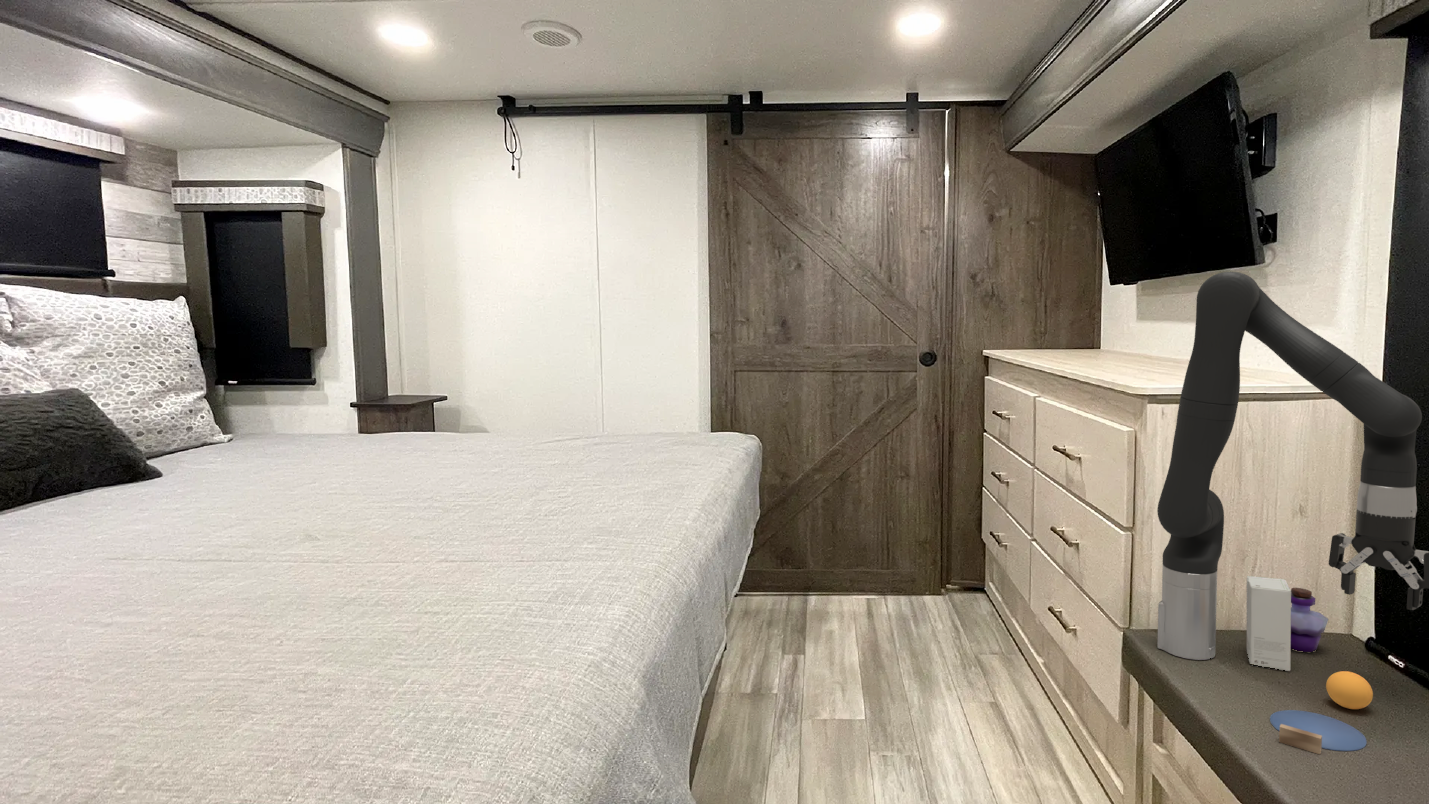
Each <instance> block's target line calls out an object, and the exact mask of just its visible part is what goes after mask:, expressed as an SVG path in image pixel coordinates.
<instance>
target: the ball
mask: <svg viewBox="0 0 1429 804" xmlns="http://www.w3.org/2000/svg"><path fill="white" fill-rule="evenodd" d="M1325 688H1326V691H1327V693H1328V696H1329V697H1330V698H1331V700H1332V701H1333V702H1335V704H1338V705H1339V706H1341V707H1343V708H1346V709H1348V710H1349V709H1350V710H1359V709H1360V710H1361V709H1364V708H1366V707H1367V706H1369V705H1370V704H1371V702H1372V701H1373V698H1374V691H1373V689H1372V686H1371V684H1370V683H1369V682H1368V681H1367V680H1366V679H1365V678H1364V677H1363V676H1361V675H1359V674H1357V673H1355V672H1352V671H1347V670H1344V671H1343V670H1342V671H1341V670H1340V671H1337V672H1334V673H1333V674H1331V675H1330V676H1328V678H1327V680H1326V684H1325Z"/></svg>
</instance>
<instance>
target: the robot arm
mask: <svg viewBox="0 0 1429 804" xmlns="http://www.w3.org/2000/svg"><path fill="white" fill-rule="evenodd" d="M1195 303H1196V313H1195V327H1194V328H1195V329H1194V341H1193V345H1192V346H1193V347H1192V350H1191V353H1190V358H1189V360H1188V364H1187V368H1186V372H1185V376H1184V380H1183V384H1182V389H1181V393H1180V398H1179V402H1178V403H1179V404H1178V410H1177V414H1176V423H1175V424H1176V425H1175V430H1174V436H1173V440H1172V441H1173V442H1172V448H1171V449H1172V450H1171V457H1170V463H1169V467H1168V470H1167V474H1166V476H1165V481H1164V484H1163V487H1162V490H1161V493H1160V497H1159V500H1158V504H1157V518H1158V521H1159V523H1160V525H1161V526H1162V528H1163V529H1164V530H1165V531H1166V532H1167V533H1168V534H1170V536H1169V541H1168V543H1167V545H1166V546H1165V548H1164V550H1163V552H1162V566H1161V567H1162V569H1161V570H1162V572H1161V578H1162V579H1161V581H1162V582H1161V600H1160V601H1159V602H1158V604H1157V605H1158V606H1157V649H1159V650H1163V651H1164V652H1166V653H1168V654H1170V655H1173V656H1175V657H1179V658H1183V659H1188V660H1194V661H1195V660H1196V661H1198V660H1199V661H1202V660H1204V661H1206V660H1210V658H1211V659H1213V658H1215V656H1216V646H1217V645H1216V644H1217V643H1216V635H1217V634H1216V633H1217V605H1218V604H1217V602H1218V599H1217V598H1218V565H1219V560H1220V557H1221V555H1222V553H1223V541H1224V525H1225V511H1224V506H1223V503H1222V501H1221V499H1220V498H1219V496H1218V494H1216V493H1215V492H1214V491H1213V490H1211V489H1210V487H1211V479H1212V475H1213V472H1214V469H1215V466H1216V464H1217V463H1218V460H1219V458H1220V456H1221V454H1222V453H1223V451H1224V448H1225V447H1226V444H1227V443H1228V441H1229V440H1230V439H1229V438H1230V436H1231V434H1232V431H1233V428H1234V425H1235V419H1236V418H1237V416H1236V415H1237V411H1238V406H1239V405H1238V404H1239V400H1240V399H1239V398H1240V391H1241V389H1240V388H1241V367H1240V366H1241V365H1240V364H1241V362H1240V361H1241V360H1240V358H1241V357H1240V356H1241V354H1240V353H1241V348H1242V343H1243V339H1244V334H1245V332H1246V333H1248V334H1250V335H1251V336H1253V337H1255V338H1256V339H1257V340H1258V341H1260V342H1261V343H1262V344H1263V345H1266V347H1267V348H1269V349H1270V350H1271V351H1272V352H1273V353H1274V354H1276V356H1278V357H1279V358H1280V359H1281V360H1282V361H1283V362H1284V363H1285V364H1286V365H1287V366H1289V367H1290V368H1291V369H1292V370H1293V371H1294V372H1295V373H1296V374H1298V375H1299V376H1301V378H1303V379H1305V380H1306V381H1307V382H1309V384H1311V385H1312V386H1314V387H1315V388H1316V389H1318V390H1320V391H1321V392H1322V393H1323V394H1324V395H1326V396H1328V397H1329V398H1331V399H1333V400H1334V401H1336V402H1337V403H1339V404H1340V405H1341V406H1343V408H1344V409H1346V410H1347V411H1348V412H1349V413H1350V414H1352V416H1353V417H1355V418H1357V420H1359V421H1360V422H1361V423H1362V424H1363V453H1362V457H1361V458H1362V459H1361V464H1360V481H1359V486H1358V489H1357V498H1356V511H1355V512H1356V514H1355V516H1356V517H1355V535H1354V536H1353V537H1351V536H1349V535H1346V534H1345V533H1343V532H1341V533H1338V534H1334V535H1332V536H1331V543H1330V551H1329V557H1328V565H1329V567H1332V568H1335V569H1337V570H1339V572H1341V575H1340V576H1341V578H1340V589H1341V591H1344V594H1345V595H1350V596H1351V595H1353V594H1354V593H1355V591H1356V589H1355V588H1356V574H1357V573H1356V572H1354V571H1355V570H1356V569H1358V568H1359V567H1361V566H1362V565H1363V564H1367V565H1368V566H1369V567H1374V568H1375V567H1376V568H1382V569H1384V570H1387V571H1394V570H1395V571H1396V572H1397V574H1398V575H1399V576H1400V577H1401V578H1402V579H1404V580H1405V582H1406V583H1407V585H1408V586H1409V587H1407V597H1406V610H1410V611H1414V610H1417V609H1418V608H1419V607H1421V606H1422V605H1423V598H1424V597H1423V596H1424V589H1428V590H1429V551H1428V550H1420V549H1417V548H1416V547H1415V544H1414V543H1415V534H1416V533H1415V532H1416V531H1415V529H1416V516H1417V512H1418V506H1417V504H1418V503H1417V490H1416V489H1417V487H1416V486H1417V470H1418V469H1417V467H1418V466H1417V465H1418V463H1417V458H1416V457H1417V456H1416V453H1415V449H1416V438H1417V429H1418V428H1419V427H1420V425H1421V424H1422V420H1423V415H1422V410H1421V408H1420V406H1419V405H1418V403H1416V402H1415V401H1414V400H1413V399H1412V397H1409V396H1408V395H1405V394H1402V393H1401V392H1399V391H1398V390H1397V389H1395V388H1393V387H1392V386H1390V385H1389V384H1388V383H1386V382H1384V381H1382V380H1381V379H1379V378H1378V377H1376V376H1375V375H1374V374H1372V372H1371V371H1370V370H1369V369H1368V368H1366V367H1365V366H1364V365H1363V364H1362V363H1360V362H1359V361H1358V360H1356V359H1355V358H1353V357H1352V356H1351V355H1349V354H1348V353H1346V352H1344V351H1343V350H1342V349H1341V348H1339V347H1338V346H1336V345H1334V344H1333V343H1331V342H1330V341H1328V340H1327V339H1326V338H1323V337H1322V336H1321V335H1319V334H1317V333H1316V332H1315V331H1313V330H1312V329H1310V328H1308V327H1307V326H1306V325H1304V324H1303V323H1300V322H1299V321H1298V320H1296V319H1295V318H1294V317H1292V316H1291V315H1290V314H1289V313H1287V312H1286V311H1285V310H1284V309H1282V308H1281V307H1280V305H1278V304H1277V303H1275V301H1274V300H1272V298H1270V297H1269V296H1268V295H1267V293H1266V292H1264V291H1263V290H1262V288H1261V287H1260V286H1259V285H1258V284H1257V282H1256V280H1255V279H1254V278H1252V277H1251V276H1249V275H1248V274H1245V273H1242V272H1238V271H1223V272H1218V273H1215V274H1213V275H1211V276H1209V278H1207V279H1206V280H1205V281H1204V282H1203V283H1202V284H1201V285H1200V286H1199V289H1198V291H1197V295H1196V302H1195ZM1350 544H1351V546H1352V547H1353V549H1354V550H1355V551H1356V553H1357V554H1356V555H1355V556H1354V557H1352V558H1351V559H1350V560H1349V561H1348V562H1345V561H1344V556H1345V550H1346V548H1348V547H1349V546H1350ZM1415 557H1416V558H1417V559H1418V560H1419V562H1420V563H1421V565H1422V564H1423V578H1422V577H1421V576H1420V574H1419V573H1418V570H1417V568H1416V567H1415V566H1414V564H1413V563H1412V562H1411V560H1413V559H1414V558H1415Z"/></svg>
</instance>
